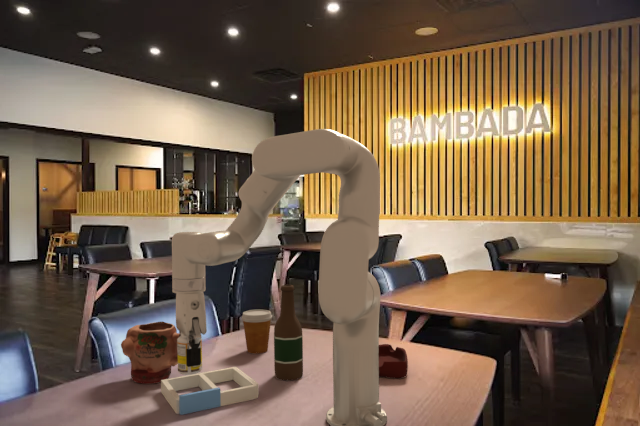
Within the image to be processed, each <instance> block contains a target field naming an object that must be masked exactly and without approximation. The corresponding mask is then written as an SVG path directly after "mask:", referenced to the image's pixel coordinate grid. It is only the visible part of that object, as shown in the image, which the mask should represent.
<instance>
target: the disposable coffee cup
mask: <svg viewBox="0 0 640 426" xmlns="http://www.w3.org/2000/svg"><path fill="white" fill-rule="evenodd" d="M272 318H273V314H272V312H271V311H270V310H267V309H249V310H246V311H243V312H242V315H241V319H242V323H243V329H244V336H245V337H244V338H245V345H246V352H247V353H249V354H251V355H252V354H254V355H256V354H258V355H260V354H264V353H267V352H268V350H269V341H270V330H271V322H272Z"/></svg>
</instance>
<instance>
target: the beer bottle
mask: <svg viewBox="0 0 640 426" xmlns="http://www.w3.org/2000/svg"><path fill="white" fill-rule="evenodd" d="M280 290H281V296H280V297H281V298H280V299H281V300H280V302H281V303H280V314H279V316H278V318H277V320H276V322H275V324H274V326H273V327H274V328H273V349H274V350H273V351H274V352H273V353H274V356H273V362H274V367H273V368H274V375H275V378H276V379H277V380H281V381H284V382H286V381H287V382H288V381H297V380H298V379H301V378H303V376H304V375H303V372H304V356H303V355H304V353H303V351H304V349H303V348H304V347H303V346H304V345H303V342H304V341H303V337H304V336H303V327H302V324H301V322H300V321H299V319H298V317H297V315H296V310H295V308H296V307H295V296H294V294H295V293H294V291H295V286H294V285H292V284H283V285H281V286H280Z"/></svg>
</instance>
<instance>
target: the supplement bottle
mask: <svg viewBox="0 0 640 426" xmlns="http://www.w3.org/2000/svg"><path fill="white" fill-rule="evenodd" d="M180 334H181V336H180V337H179V338H178V339H177V353H178V364H177V372H178V374H180V375H182V376H186V375H192V374H198V373H201V371H202V370H203V349H202V348H203V347H202V345H203V341H202V340H203V338H202V337H201V364H200V365H197V366H191V367H188V366H187V365H186V349H188V345H187V336H185V335H184V334H182V333H180ZM193 334H194V332H191V333H190V335H193ZM190 339H191V341H192V339H194V338H190Z"/></svg>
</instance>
